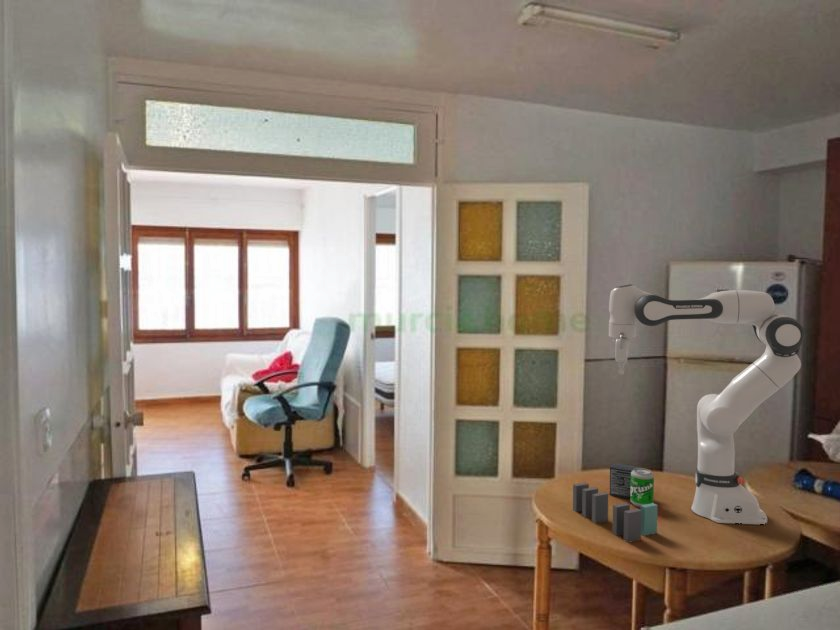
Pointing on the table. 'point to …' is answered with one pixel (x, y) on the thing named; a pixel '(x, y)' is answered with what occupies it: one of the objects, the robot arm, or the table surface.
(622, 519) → the domino
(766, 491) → the table surface
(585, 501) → the domino
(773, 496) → the table surface
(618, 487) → the small box
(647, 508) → the domino
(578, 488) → the domino
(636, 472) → the soda can
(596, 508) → the domino
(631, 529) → the domino
